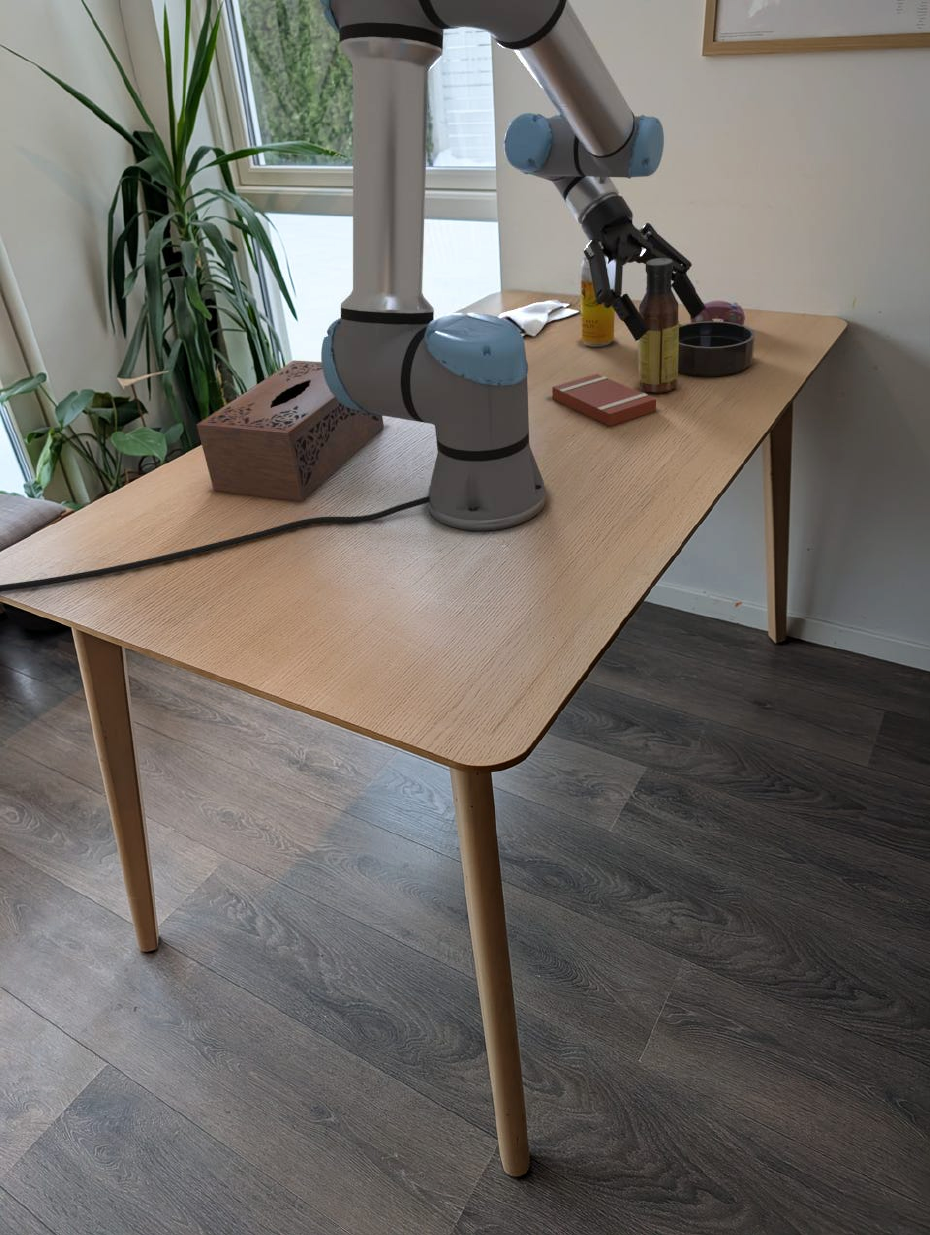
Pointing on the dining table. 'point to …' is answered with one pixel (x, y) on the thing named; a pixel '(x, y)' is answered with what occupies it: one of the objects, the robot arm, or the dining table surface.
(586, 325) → the beer can
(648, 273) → the sauce bottle
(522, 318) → the cloth
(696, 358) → the pan
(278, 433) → the tissue box cover
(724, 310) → the video game controller
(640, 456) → the dining table surface
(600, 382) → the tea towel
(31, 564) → the dining table surface
